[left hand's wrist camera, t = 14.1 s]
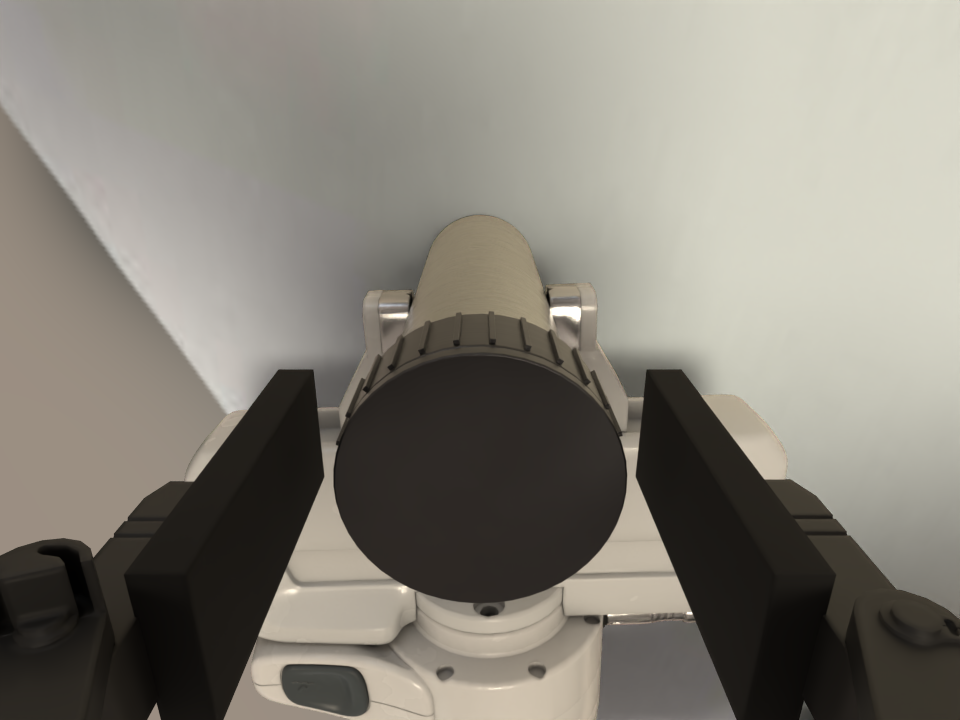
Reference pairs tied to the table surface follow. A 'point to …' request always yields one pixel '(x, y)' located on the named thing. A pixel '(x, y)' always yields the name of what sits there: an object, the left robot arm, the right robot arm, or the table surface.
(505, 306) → the beige long cylinder
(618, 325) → the table surface
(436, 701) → the right robot arm
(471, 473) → the lid
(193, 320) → the table surface
